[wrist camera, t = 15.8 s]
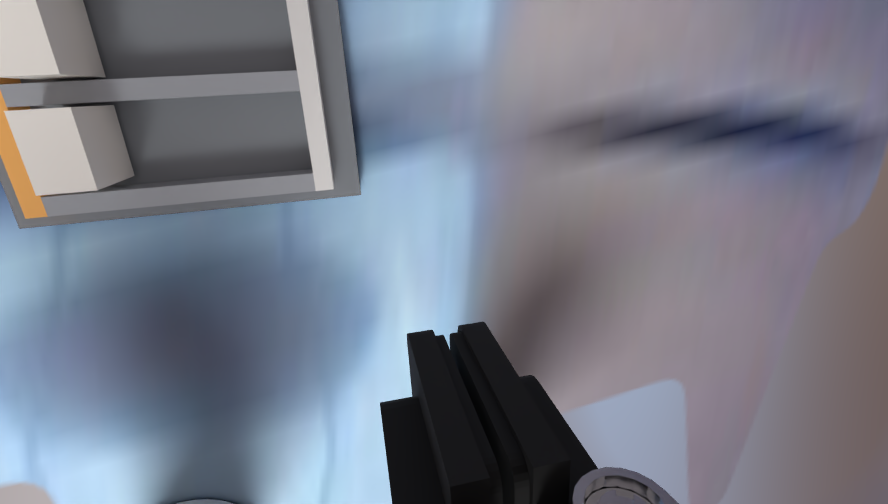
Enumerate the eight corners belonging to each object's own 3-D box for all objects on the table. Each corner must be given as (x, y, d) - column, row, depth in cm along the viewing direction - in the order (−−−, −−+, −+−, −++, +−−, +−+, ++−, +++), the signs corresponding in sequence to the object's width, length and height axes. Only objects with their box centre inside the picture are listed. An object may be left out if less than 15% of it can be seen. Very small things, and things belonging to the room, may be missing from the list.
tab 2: (113, 104, 28) (70, 107, 23) (134, 175, 29) (97, 190, 25) (59, 108, 27) (3, 110, 23) (83, 180, 29) (36, 195, 24)
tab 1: (81, -5, 26) (26, -26, 21) (105, 77, 27) (59, 74, 23) (21, -4, 25) (-48, -25, 21) (49, 79, 27) (-9, 77, 22)
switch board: (330, -51, 29) (329, -72, 26) (359, 189, 35) (362, 200, 31) (-65, -51, 25) (-135, -75, 22) (38, 220, 31) (-3, 237, 27)
